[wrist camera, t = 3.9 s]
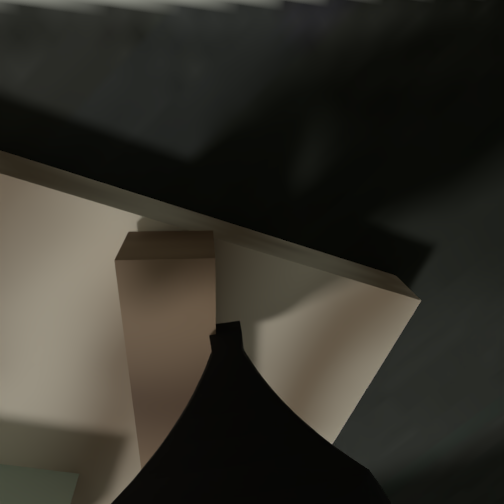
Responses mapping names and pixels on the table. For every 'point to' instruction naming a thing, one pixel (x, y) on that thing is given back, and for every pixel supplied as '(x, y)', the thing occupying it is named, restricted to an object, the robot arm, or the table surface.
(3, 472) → the block
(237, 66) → the table surface
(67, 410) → the stool seat
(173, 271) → the stool leg
